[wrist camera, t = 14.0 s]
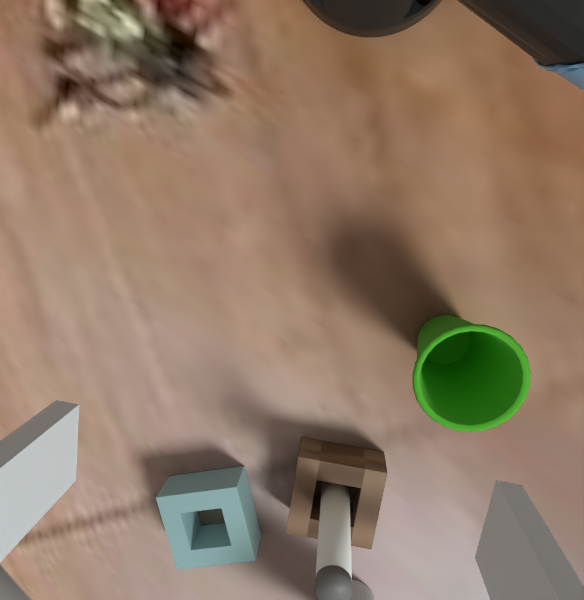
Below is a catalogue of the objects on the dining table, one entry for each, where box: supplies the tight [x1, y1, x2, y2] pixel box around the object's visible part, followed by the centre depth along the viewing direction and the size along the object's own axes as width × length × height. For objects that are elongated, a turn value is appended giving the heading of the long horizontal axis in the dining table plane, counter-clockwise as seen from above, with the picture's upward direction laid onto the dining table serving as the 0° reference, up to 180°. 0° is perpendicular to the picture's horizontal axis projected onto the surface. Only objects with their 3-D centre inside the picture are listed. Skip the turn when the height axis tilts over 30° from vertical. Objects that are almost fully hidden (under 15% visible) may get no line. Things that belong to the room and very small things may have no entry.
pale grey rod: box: [315, 481, 352, 600], centre depth 46 cm, size 3×3×15 cm
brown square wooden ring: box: [286, 437, 387, 549], centre depth 52 cm, size 9×9×4 cm
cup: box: [413, 315, 530, 432], centre depth 44 cm, size 9×9×11 cm
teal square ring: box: [156, 466, 262, 570], centre depth 54 cm, size 9×9×4 cm
